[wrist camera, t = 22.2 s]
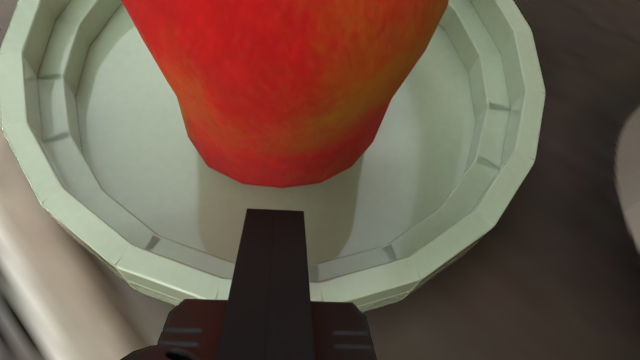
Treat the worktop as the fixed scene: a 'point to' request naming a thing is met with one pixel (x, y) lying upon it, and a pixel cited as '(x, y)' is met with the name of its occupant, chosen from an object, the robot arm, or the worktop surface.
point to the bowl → (234, 197)
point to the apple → (284, 77)
